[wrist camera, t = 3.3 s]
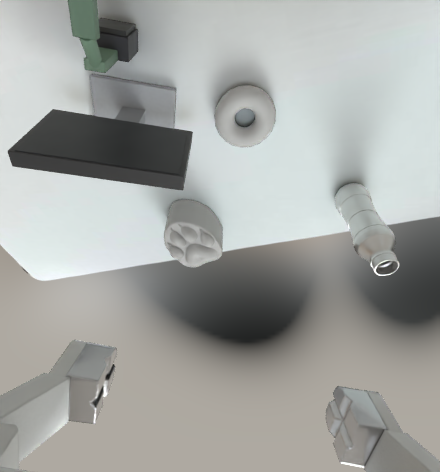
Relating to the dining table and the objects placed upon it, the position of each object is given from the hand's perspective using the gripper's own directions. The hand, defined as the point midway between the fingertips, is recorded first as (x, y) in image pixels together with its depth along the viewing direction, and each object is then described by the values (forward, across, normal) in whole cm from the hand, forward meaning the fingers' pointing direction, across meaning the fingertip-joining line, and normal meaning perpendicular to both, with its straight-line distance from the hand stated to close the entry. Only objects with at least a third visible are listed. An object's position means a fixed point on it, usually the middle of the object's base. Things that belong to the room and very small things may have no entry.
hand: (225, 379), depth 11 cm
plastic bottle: (+53, -25, -1) cm, 59 cm away
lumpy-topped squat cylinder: (+56, +4, +12) cm, 57 cm away
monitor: (+46, +17, -8) cm, 50 cm away
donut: (+47, -1, -11) cm, 48 cm away
